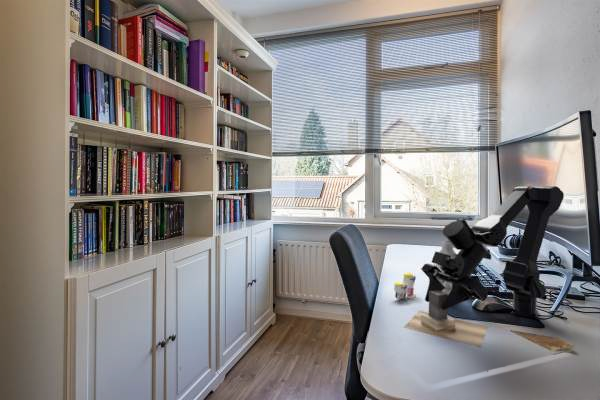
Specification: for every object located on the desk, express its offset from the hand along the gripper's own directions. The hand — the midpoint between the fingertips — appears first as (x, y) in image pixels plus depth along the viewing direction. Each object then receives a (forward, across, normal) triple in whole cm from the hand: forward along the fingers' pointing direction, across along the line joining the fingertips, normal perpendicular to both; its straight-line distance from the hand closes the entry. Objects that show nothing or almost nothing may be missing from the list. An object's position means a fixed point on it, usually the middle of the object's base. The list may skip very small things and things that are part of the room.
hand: (433, 304), depth 85 cm
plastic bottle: (-8, -15, +18) cm, 25 cm away
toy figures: (-1, -22, +10) cm, 25 cm away
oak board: (+3, +1, +7) cm, 7 cm away
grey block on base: (+3, 0, +5) cm, 6 cm away
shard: (-8, +15, +18) cm, 25 cm away
